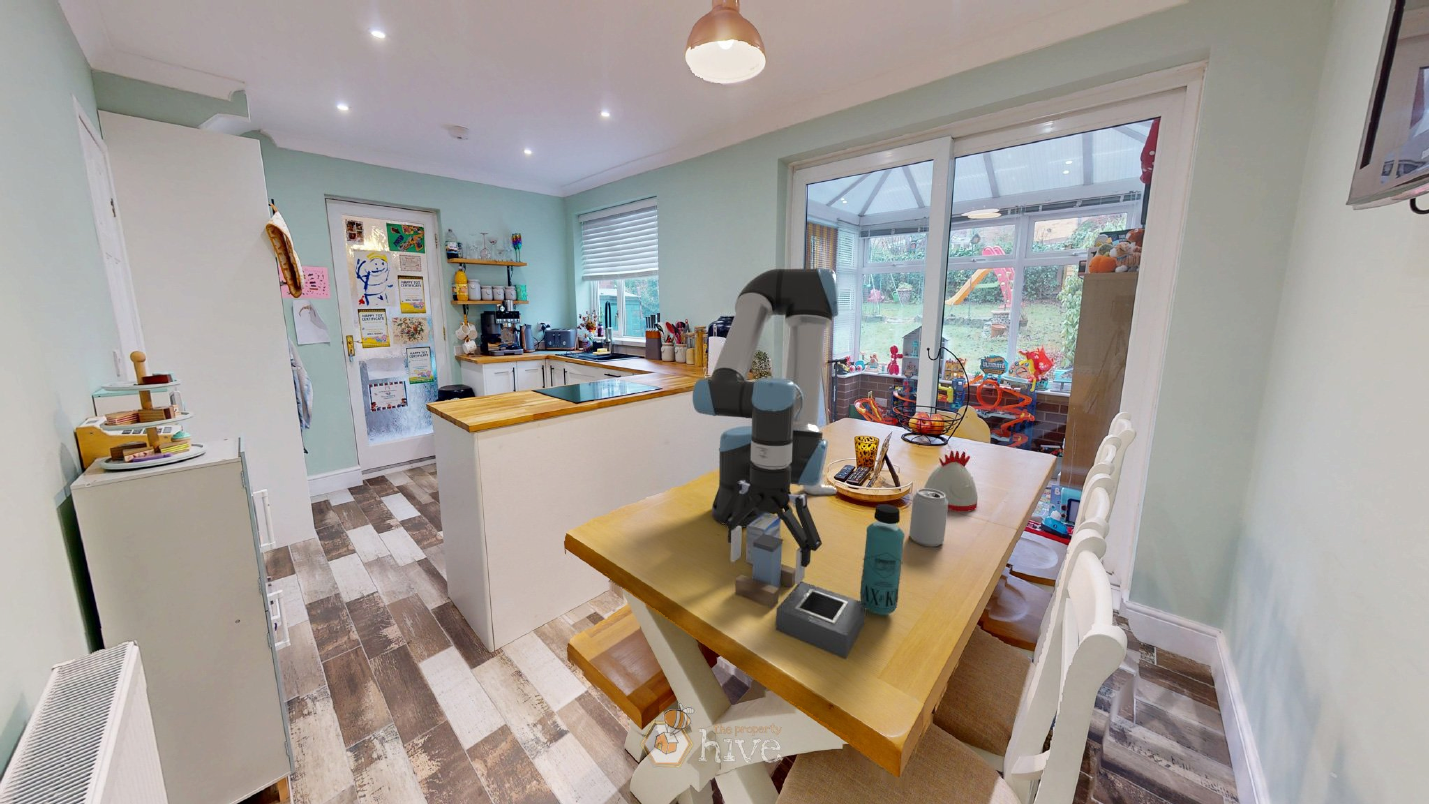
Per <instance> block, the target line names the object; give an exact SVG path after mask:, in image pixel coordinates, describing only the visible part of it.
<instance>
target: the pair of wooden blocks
mask: <svg viewBox="0 0 1429 804" xmlns="http://www.w3.org/2000/svg"><path fill="white" fill-rule="evenodd" d="M795 570H796V567H792V566H789V565H785V564H782V563H781V578H780V585H783V586H785V587H790V588H793V587H794V586H795V584H796V583H795ZM734 584H735V595H738V596H740V597H742V598H746V599H747V600H751V601H753V602H755V603H758V604H761V605H763V606H766V607H767V608H771V609H775V607H776V606H777V605H778V603H779V591H780V590H779V589H780V587H779V588H777V587H774V586H771V585H768V584H765V583H763V582H760V581H757V580H754V579H753V577H751V578H750V577H748V576H746V575H743V574H740V575H739V576H738V577H737V578H735V583H734Z"/></svg>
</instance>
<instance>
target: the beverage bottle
mask: <svg viewBox="0 0 1429 804" xmlns="http://www.w3.org/2000/svg"><path fill="white" fill-rule="evenodd" d="M874 511H875V512H874V513H873V514H874V515H873V518H874V520H875V521H874V522H872V523H871V524H870V525H868V526H867V528H866V535H865V536H866V538H865V547H864V556H863V558H862V560H863V563H862V565H861V566H862V569H861V578H860V589H859V591H860V592H859V595H860V597H859V599H860V601H861V602H864V603H866V610H867V611H870V612H871V613H874V614H878V615H889V614H892V613H894V612H895V611H896V609H897V608H898V602H899V596H900V593H899V591H900V583H901V579H902V578H901V575H902V564H903V561H902V560H903V550H904V539H905V533H904V531H903V530H902V529H901V528H900V527H899V526H898V525H897V524H898V523H900V520H901V517H900V509H899V508H898V507H897V506H895V505H891V504H886V503H884V504H883V503H882V504H877V505H876V506H875V510H874Z"/></svg>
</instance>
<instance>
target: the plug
mask: <svg viewBox="0 0 1429 804" xmlns="http://www.w3.org/2000/svg"><path fill="white" fill-rule="evenodd" d="M782 549H783V538H781V537H780V538H776V537H773V536H770V535H766V534H762V535H761V536H760V537H759V538H757V539H756V540H755V541H754V542H753V564H752V579H754V580H757V581H760V582H763V583H765V584H768V585H771V586H774V587H777V588H779V589H780V588H781V584H780V578H781V564H782V551H783V550H782Z"/></svg>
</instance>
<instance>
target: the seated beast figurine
mask: <svg viewBox="0 0 1429 804" xmlns="http://www.w3.org/2000/svg"><path fill="white" fill-rule="evenodd" d="M825 476H826V475H825V474H824V471H823V472H822V475H821V478H820V481H819V482H818V484H816V485H815V486H804V485H802V489H803V491H804V492H805V493H807V494H809V495H812V496H814V495H816V496H818V495H820V496H821V495H822V496H823V495H835V494H837V488H836V487H835V486H832V485H831V484H829V485H828V484H827V485H826V484H825V483H826V482H825V481H824V478H825ZM834 487H835V488H834Z"/></svg>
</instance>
